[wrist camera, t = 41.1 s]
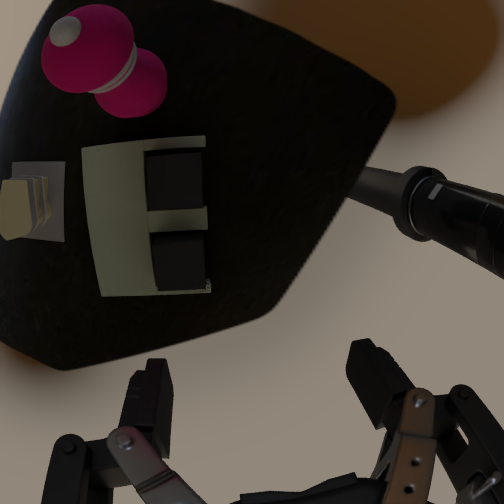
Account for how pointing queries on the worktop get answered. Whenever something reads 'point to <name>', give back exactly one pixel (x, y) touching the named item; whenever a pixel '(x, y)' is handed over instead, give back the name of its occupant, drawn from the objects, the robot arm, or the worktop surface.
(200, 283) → the black block
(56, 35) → the pepper mill
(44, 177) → the stacked layers on plate
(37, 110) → the worktop surface
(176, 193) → the dark charcoal cube
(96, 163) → the pale green e-shaped block
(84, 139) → the worktop surface
